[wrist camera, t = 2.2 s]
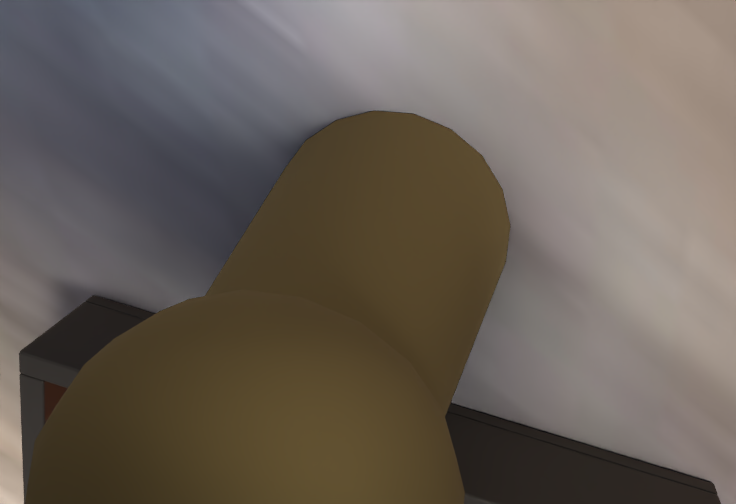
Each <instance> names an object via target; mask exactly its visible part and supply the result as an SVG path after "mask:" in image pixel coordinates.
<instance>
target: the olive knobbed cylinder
mask: <svg viewBox="0 0 736 504" xmlns="http://www.w3.org/2000/svg"><path fill="white" fill-rule="evenodd" d="M509 233H510V222H509V217H508V213H507V208H506V203H505V199H504V194H503V190H502V188H501V186H500V184H499V183H498V181H497V180H496V178H495V176H494V175H493V173H492V171H491V170H490V168H489V166H488V165H487V163H486V161H485V160H484V158H483V156H482V155H481V154H479V153H478V152H477V151H476V150H475V149H474V148H472V147H471V146H470V145H469V144H468V143H467V142H465V141H464V140H463V139H462V138H461V137H460V136H458V135H457V134H456V133H455V132H454V131H452V130H451V129H449V128H447V127H444V126H442V125H439V124H437V123H434V122H432V121H430V120H427V119H425V118H422V117H420V116H417V115H415V114H409V113H396V112H382V111H371V112H367V113H363V114H359V115H355V116H351V117H347V118H343V119H339V120H336V121H335V122H333V123H331V124H330V125H328V126H327V127H325V128H324V129H322V130H321V131H319V132H318V133H316V134H315V135H313V136H312V137H310V138H309V139H307V140H306V141H305V142H304V144H303V145H302V146H301V148H300V149H299V150H298V152H297V153H296V154H295V156H294V157H293V158H292V160H291V161H290V162H289V164H288V165H287V166H286V168H285V169H284V171H283V172H282V174H281V175H280V177H279V179H278V180H277V182H276V183H275V185H274V187H273V188H272V190H271V191H270V193H269V195H268V196H267V198H266V199H265V201H264V203H263V204H262V206H261V207H260V209H259V210H258V212H257V214H256V215H255V217H254V218H253V220H252V222H251V223H250V225H249V226H248V228H247V230H246V231H245V233H244V234H243V236H242V238H241V239H240V241H239V242H238V244H237V246H236V247H235V249H234V250H233V252H232V254H231V255H230V257H229V258H228V260H227V262H226V263H225V265H224V266H223V268H222V269H221V271H220V273H219V274H218V276H217V277H216V279H215V281H214V282H213V284H212V285H211V287H210V289H209V290H208V292H207V293H206V295H205V296H203V297H197V298H192V299H188V300H186V301H183V302H181V303H178V304H176V305H174V306H171V307H169V308H166V309H164V310H162V311H159V312H158V313H156V314H154V315H153V316H151V317H149V318H148V319H146V320H144V321H143V322H141V323H139V324H138V325H136V326H134V327H133V328H131V329H129V330H128V331H126V332H124V333H123V334H121V335H119V336H118V337H116V338H114V339H113V340H112V341H111V342H109V343H108V344H107V345H106V346H105V347H104V348H103V349H101V350H100V351H99V352H98V353H97V354H96V355H95V356H93V357H92V358H91V359H90V360H89V361H88V362H86V363H85V364H84V365H83V367H82V368H81V370H80V371H79V373H78V374H77V376H76V377H75V379H74V380H73V381H72V383H71V384H70V386H69V387H68V389H67V390H66V392H65V393H64V395H63V396H62V397H61V399H60V400H59V402H58V403H57V405H56V406H55V408H54V410H53V411H52V413H51V415H50V416H49V418H48V420H47V421H46V423H45V425H44V426H43V428H42V430H41V431H40V433H39V435H38V436H37V438H36V440H35V443H34V449H33V456H32V462H31V468H30V474H29V480H28V486H27V493H26V500H25V504H464V497H465V492H464V487H463V483H462V479H461V475H460V471H459V466H458V462H457V458H456V455H455V451H454V448H453V444H452V441H451V437H450V433H449V430H448V426H447V423H446V419H445V415H446V413H447V410H448V408H449V405H450V403H451V400H452V398H453V395H454V392H455V390H456V387H457V385H458V382H459V380H460V377H461V375H462V372H463V369H464V367H465V364H466V362H467V359H468V357H469V354H470V352H471V349H472V347H473V344H474V341H475V339H476V336H477V334H478V331H479V329H480V326H481V324H482V321H483V318H484V316H485V313H486V311H487V308H488V306H489V303H490V301H491V298H492V295H493V293H494V290H495V288H496V285H497V283H498V280H499V278H500V275H501V273H502V270H503V267H504V265H505V262H506V256H507V248H508V241H509Z"/></svg>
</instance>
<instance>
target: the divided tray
mask: <svg viewBox="0 0 736 504" xmlns="http://www.w3.org/2000/svg"><path fill="white" fill-rule="evenodd" d="M153 315H154V313H150V312H147V311H144V310H140V309H137V308H134V307H131V306H127V305H124V304H121V303H117V302H114V301H111V300H108V299H104V298H101V297H98V296H94V295H93V296H91V297H90V298H89V299H87V300H86V302H84V303H83V304H81V305H80V306H79V307H77V308H76V309H75V310H74V311H72V312H71V313H70V314H68V315H67V316H66V317H64V318H63V319H62V320H60V321H59V322H58V323H56V324H55V325H54V326H53V327H51V328H50V329H49V330H47V331H46V332H45V333H43V334H42V335H41V336H39V337H38V338H37V339H35V340H34V341H33V342H32V343H30V344H29V345H28V346H26V347H25V348H24V349H22V350H21V351H20V353H19V363H20V373H21V374H20V397H21V425H22V453H23V481H24V504H25V500H26V493H27V486H28V480H29V474H30V468H31V462H32V456H33V449H34V443H35V440H36V438H37V436H38V435H39V433H40V431H41V430H42V428H43V426H44V425H45V423H46V421H47V420H48V418H49V416H50V415H51V413H52V411H53V410H54V408H55V406H56V405H57V403H58V402H59V400H60V399H61V397H62V396H63V395H64V393H65V392H66V390H67V389H68V387H69V386H70V384H71V383H72V381H73V380H74V379H75V377H76V376H77V374H78V373H79V371H80V370H81V368H82V367H83V365H84V364H85V363H86V362H88V361H89V360H90V359H91V358H92V357H93V356H95V355H96V354H97V353H98V352H99V351H100V350H101V349H103V348H104V347H105V346H106V345H107V344H108V343H109V342H111V341H112V340H113V339H114V338H116V337H118V336H119V335H121V334H123V333H124V332H126V331H128V330H129V329H131V328H133V327H134V326H136V325H138V324H139V323H141V322H143V321H144V320H146V319H148V318H149V317H151V316H153ZM445 419H446V423H447V426H448V430H449V433H450V437H451V441H452V444H453V448H454V451H455V455H456V458H457V462H458V466H459V471H460V475H461V479H462V483H463V487H464V492H465V497H464V504H721V503H720V500H719V497H718V496H717V491H716V489H715V486H714V484H712V483H709V482H706V481H703V480H699V479H696V478H693V477H690V476H686V475H683V474H680V473H676V472H673V471H670V470H667V469H663V468H660V467H657V466H653V465H650V464H647V463H644V462H640V461H637V460H634V459H630V458H627V457H624V456H621V455H617V454H614V453H611V452H607V451H604V450H601V449H598V448H594V447H591V446H588V445H584V444H581V443H578V442H575V441H571V440H568V439H565V438H561V437H558V436H555V435H551V434H548V433H545V432H542V431H538V430H535V429H532V428H528V427H525V426H522V425H519V424H515V423H512V422H509V421H505V420H502V419H499V418H496V417H492V416H489V415H486V414H482V413H479V412H476V411H473V410H469V409H466V408H463V407H459V406H456V405H453V404H450V405H449V408H448V410H447V413H446V415H445Z"/></svg>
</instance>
